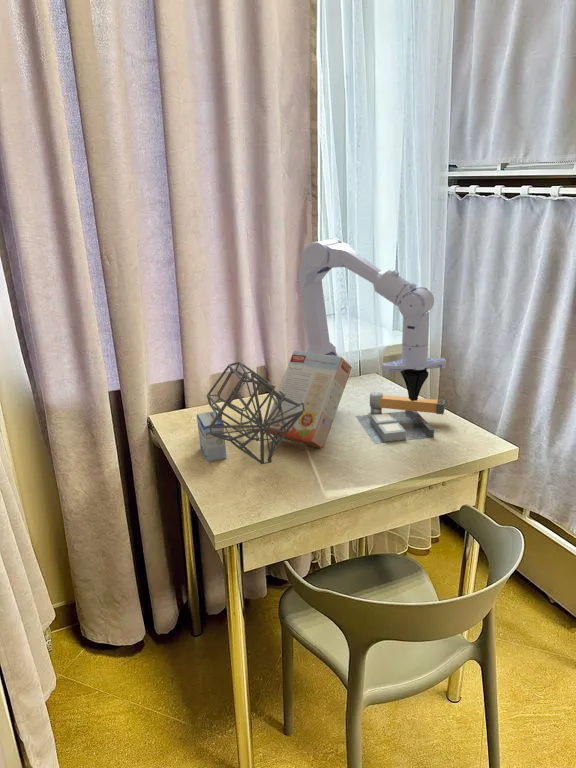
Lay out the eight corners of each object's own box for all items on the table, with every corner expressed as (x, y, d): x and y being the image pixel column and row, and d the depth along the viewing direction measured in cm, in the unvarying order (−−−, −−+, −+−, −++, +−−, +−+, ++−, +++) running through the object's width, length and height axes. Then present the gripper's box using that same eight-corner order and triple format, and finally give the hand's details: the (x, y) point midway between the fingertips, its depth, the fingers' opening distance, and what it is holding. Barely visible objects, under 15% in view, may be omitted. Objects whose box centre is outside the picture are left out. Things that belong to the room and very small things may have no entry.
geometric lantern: (244, 429, 143) (272, 478, 110) (193, 398, 138) (206, 439, 105) (278, 379, 143) (316, 413, 109) (228, 346, 138) (252, 371, 105)
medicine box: (200, 448, 128) (195, 413, 125) (218, 444, 129) (214, 410, 126) (207, 462, 121) (203, 426, 118) (227, 458, 122) (223, 422, 119)
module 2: (384, 441, 124) (384, 433, 123) (377, 432, 129) (377, 424, 128) (405, 439, 125) (405, 430, 124) (398, 430, 129) (398, 422, 129)
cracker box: (323, 450, 123) (353, 366, 128) (310, 442, 118) (342, 355, 123) (276, 437, 132) (305, 359, 136) (262, 429, 127) (293, 349, 132)
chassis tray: (374, 447, 124) (374, 433, 122) (354, 418, 140) (354, 405, 139) (433, 441, 125) (434, 427, 124) (407, 412, 141) (407, 400, 140)
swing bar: (368, 407, 136) (368, 396, 135) (371, 402, 139) (371, 391, 138) (443, 414, 130) (443, 402, 129) (444, 409, 133) (445, 397, 132)
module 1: (376, 430, 130) (376, 422, 129) (370, 422, 134) (370, 414, 134) (396, 428, 130) (397, 420, 130) (390, 420, 135) (390, 412, 134)
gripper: (389, 350, 119) (388, 408, 123) (453, 345, 120) (449, 402, 125) (379, 342, 125) (378, 397, 130) (440, 337, 127) (437, 391, 132)
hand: (412, 399), depth 128 cm, fingers closed
